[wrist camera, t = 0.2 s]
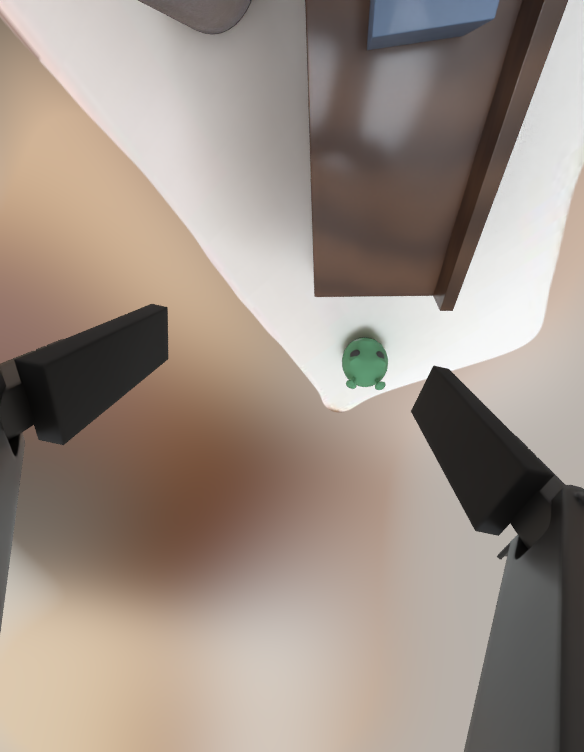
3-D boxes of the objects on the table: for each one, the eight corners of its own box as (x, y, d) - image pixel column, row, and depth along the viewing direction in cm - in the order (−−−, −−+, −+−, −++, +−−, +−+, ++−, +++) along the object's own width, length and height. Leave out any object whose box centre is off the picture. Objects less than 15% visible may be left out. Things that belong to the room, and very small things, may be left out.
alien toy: (390, 325, 43) (398, 368, 36) (380, 361, 48) (386, 405, 41) (344, 323, 44) (344, 365, 37) (340, 359, 49) (339, 401, 42)
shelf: (314, -98, 19) (290, -248, 11) (534, -151, 17) (713, -389, 9) (319, 264, 38) (312, 311, 29) (427, 261, 35) (452, 310, 27)
